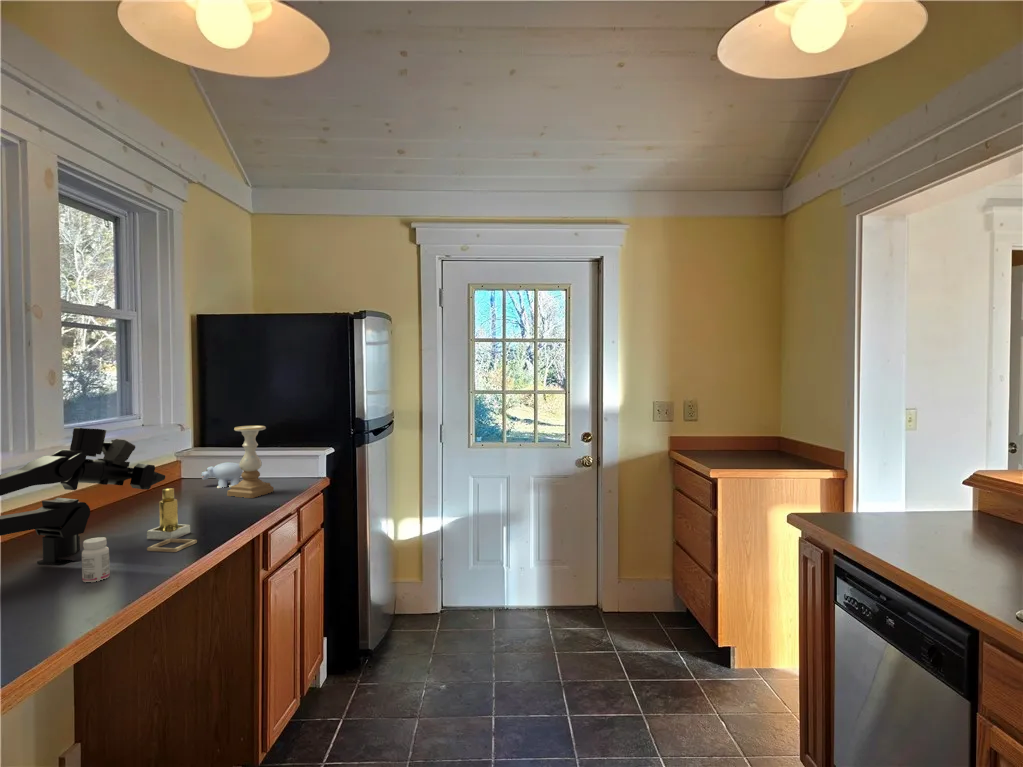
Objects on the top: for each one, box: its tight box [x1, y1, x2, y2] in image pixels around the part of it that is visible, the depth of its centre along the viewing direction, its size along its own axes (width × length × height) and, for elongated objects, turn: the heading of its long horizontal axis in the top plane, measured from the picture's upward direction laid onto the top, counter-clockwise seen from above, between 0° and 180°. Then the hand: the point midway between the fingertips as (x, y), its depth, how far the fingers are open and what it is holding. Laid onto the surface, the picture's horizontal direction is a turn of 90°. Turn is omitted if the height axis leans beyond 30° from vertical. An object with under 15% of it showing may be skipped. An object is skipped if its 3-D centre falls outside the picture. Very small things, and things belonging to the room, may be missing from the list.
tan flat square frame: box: [146, 538, 198, 553], centre depth 140 cm, size 8×8×2 cm
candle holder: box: [226, 425, 275, 499], centre depth 204 cm, size 11×11×24 cm
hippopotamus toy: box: [200, 462, 244, 489], centre depth 219 cm, size 11×15×10 cm
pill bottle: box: [81, 536, 111, 583], centre depth 123 cm, size 5×5×8 cm
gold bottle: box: [158, 487, 179, 531], centre depth 149 cm, size 4×4×12 cm
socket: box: [146, 523, 192, 541], centre depth 149 cm, size 7×7×4 cm
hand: (152, 475), depth 156 cm, fingers open, 9 cm apart
